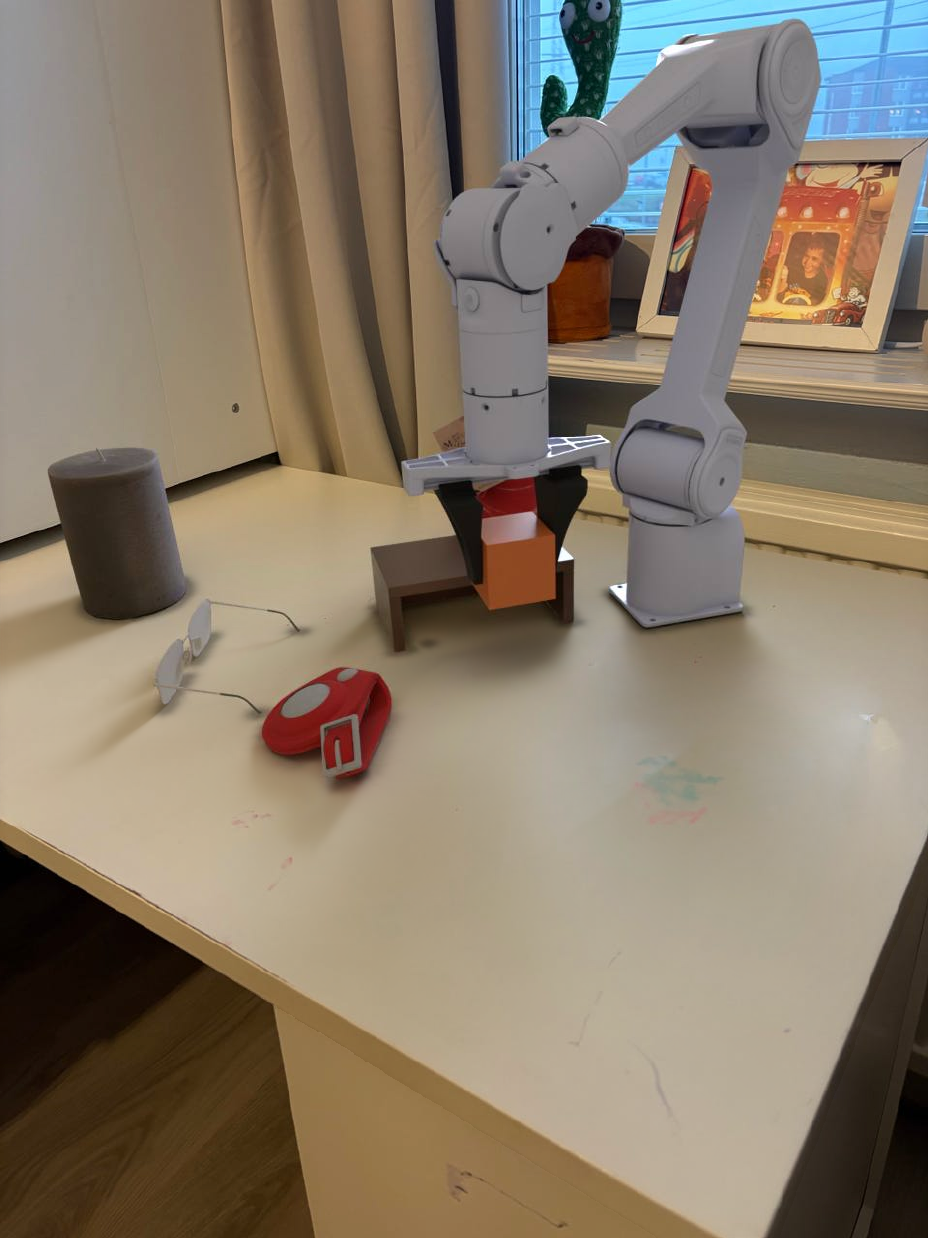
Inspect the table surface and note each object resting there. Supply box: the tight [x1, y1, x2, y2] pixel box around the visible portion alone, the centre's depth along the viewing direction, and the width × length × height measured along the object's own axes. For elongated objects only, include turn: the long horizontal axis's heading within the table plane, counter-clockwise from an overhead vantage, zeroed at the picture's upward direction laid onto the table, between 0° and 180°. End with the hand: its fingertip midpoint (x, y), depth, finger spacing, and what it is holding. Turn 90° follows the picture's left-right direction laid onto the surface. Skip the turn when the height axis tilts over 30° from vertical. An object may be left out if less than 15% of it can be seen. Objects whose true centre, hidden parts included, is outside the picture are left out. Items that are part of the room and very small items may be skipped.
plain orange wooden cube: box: [471, 511, 556, 611], centre depth 66 cm, size 5×5×5 cm
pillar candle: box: [47, 446, 187, 620], centre depth 85 cm, size 10×10×15 cm
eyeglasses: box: [152, 598, 301, 715], centre depth 74 cm, size 14×8×4 cm, turn 176°
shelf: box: [369, 534, 575, 653], centre depth 80 cm, size 16×9×6 cm, turn 105°
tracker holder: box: [260, 666, 393, 779], centre depth 64 cm, size 12×4×10 cm
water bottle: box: [432, 415, 538, 519], centre depth 90 cm, size 12×8×25 cm, turn 124°
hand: (511, 573), depth 66 cm, fingers closed on plain orange wooden cube, 5 cm apart
